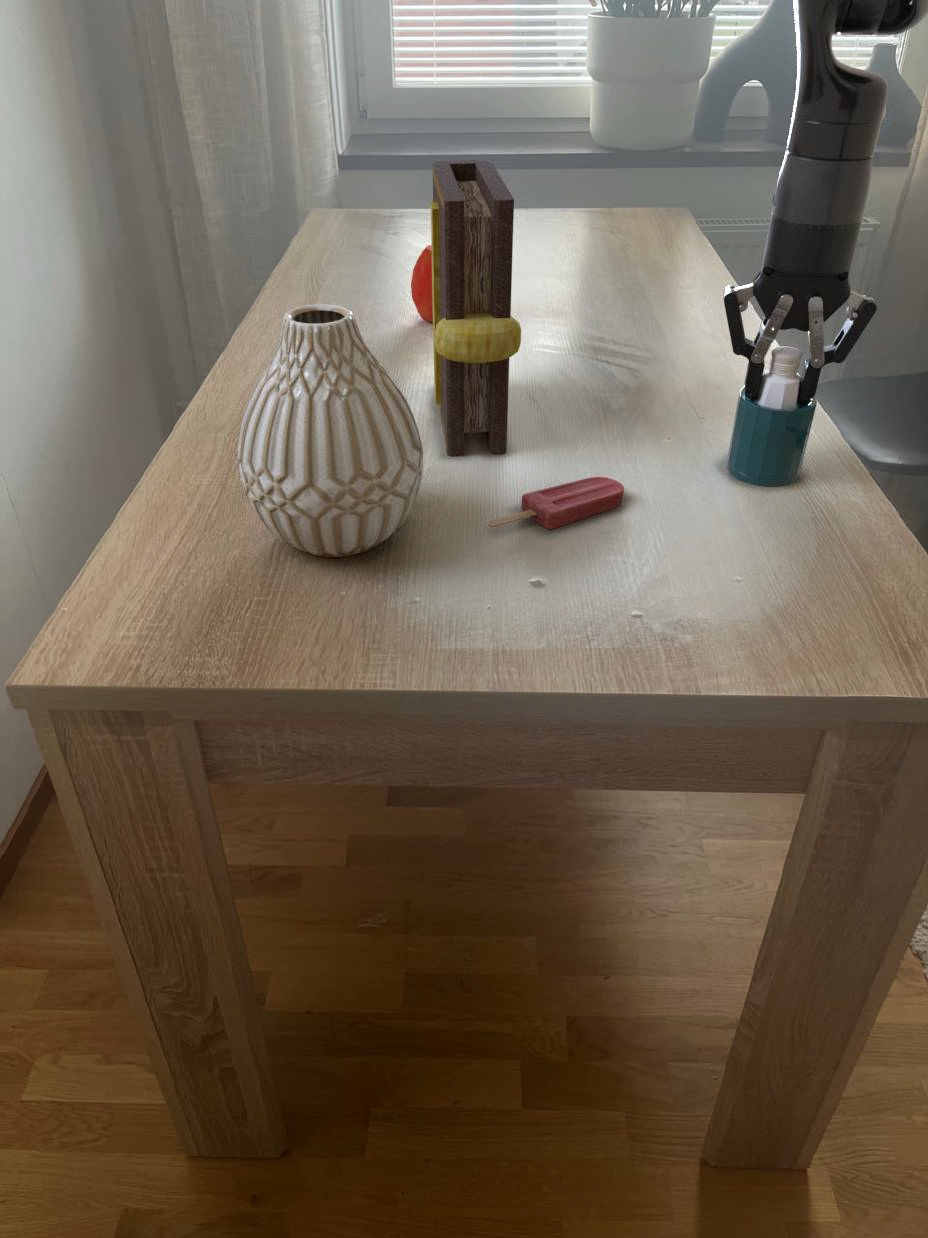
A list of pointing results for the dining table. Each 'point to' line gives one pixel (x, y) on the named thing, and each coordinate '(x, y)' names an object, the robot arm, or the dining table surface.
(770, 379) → the pepper shaker
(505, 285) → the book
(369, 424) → the vase
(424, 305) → the apple
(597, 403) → the dining table surface
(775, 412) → the cup
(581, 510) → the popsicle
